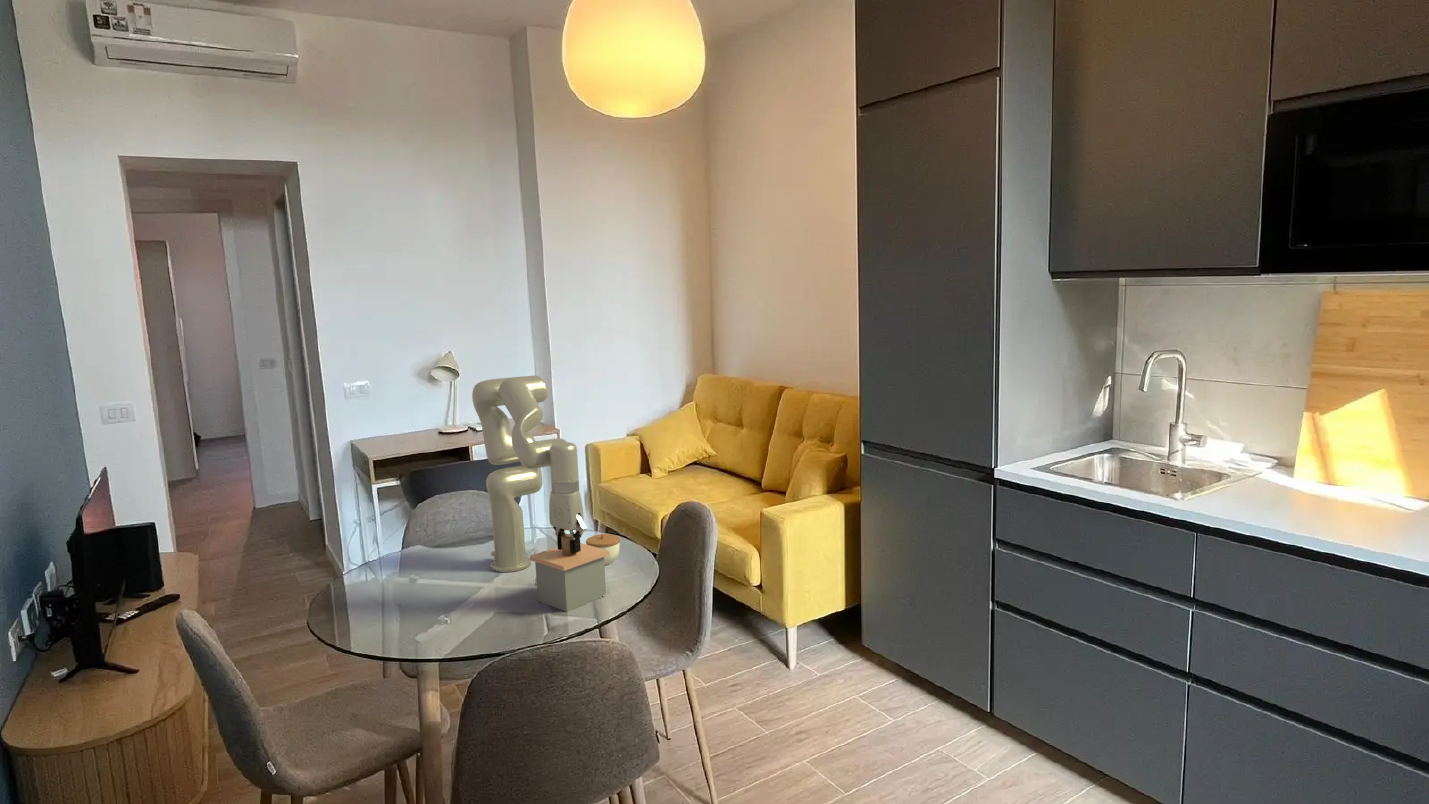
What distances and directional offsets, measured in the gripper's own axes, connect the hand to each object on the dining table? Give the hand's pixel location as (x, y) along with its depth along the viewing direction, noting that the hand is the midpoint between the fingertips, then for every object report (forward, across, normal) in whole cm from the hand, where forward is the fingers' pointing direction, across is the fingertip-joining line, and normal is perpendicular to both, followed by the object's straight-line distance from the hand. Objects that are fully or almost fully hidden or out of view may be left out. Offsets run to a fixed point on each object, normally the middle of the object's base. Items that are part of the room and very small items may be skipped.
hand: (569, 549), depth 223 cm
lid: (+3, 0, 0) cm, 3 cm away
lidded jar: (+14, -16, +26) cm, 34 cm away
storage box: (+14, 0, 0) cm, 14 cm away
